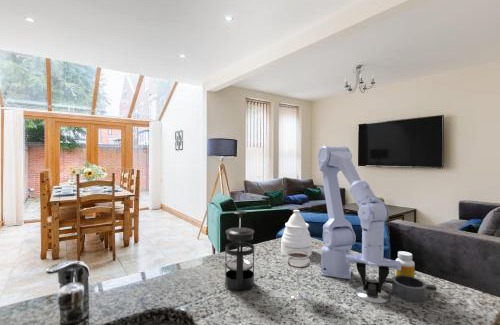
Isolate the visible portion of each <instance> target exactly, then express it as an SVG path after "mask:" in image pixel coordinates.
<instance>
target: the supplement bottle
mask: <svg viewBox="0 0 500 325" xmlns="http://www.w3.org/2000/svg"><path fill="white" fill-rule="evenodd" d="M395 261H400V262H401V270H397V269H394V276H395V275H405V276H411V277H415V269H416V268H415V266H416V265H415V261H413V254H412V253H411V252H408V251H401V250H399V251H397V258H396V259H395Z"/></svg>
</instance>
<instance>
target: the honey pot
mask: <svg viewBox="0 0 500 325" xmlns="http://www.w3.org/2000/svg"><path fill="white" fill-rule="evenodd" d="M292 212H293V213H292V215H290V217H289V219H288V221H287V222H285V224H284V225H285V228H284V230H283V234H282V236H281V239H280V240H281V245H280V252H281V254H283V255H285V256H286V257H288V255H287V252H288V251H291V250H302V251H306V252H308V253H309V254H310V256H312V254H313V240H312V238H311V235H310V234H311V233H310V231H309V227H310V224H309V223H307V222H306V221H305V219H304V217H303V215H302V214H301V213H300V210H299V209H293V211H292Z"/></svg>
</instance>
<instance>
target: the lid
mask: <svg viewBox="0 0 500 325" xmlns="http://www.w3.org/2000/svg"><path fill="white" fill-rule="evenodd" d="M354 292H355V296H356V297H358V298H359V299H360V300H362V301H365V302H368V303H371V304H385V303H387V302H389V301H390V296H389V294H388V293H387V292H386V291H384V290H383V289H381V293H378V280H375V279H366V291H365V290H363V285H362V286H359V287H357V288H355V290H354Z"/></svg>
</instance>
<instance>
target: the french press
mask: <svg viewBox="0 0 500 325" xmlns="http://www.w3.org/2000/svg"><path fill="white" fill-rule="evenodd" d="M233 214H235V215H238V218H239V221H238V222H239V223H238V224H239V225H238V227H230V228H228V229H226V230H225V234H226V239H227V240H229V241H231V242H230V243H228V244H226V245H225V246H224V247H225V255H224V256H225V257H224V258H225V260H224V261H225V263H224V264H225V272H224V273H225V275H224V276H225V277H224V278H225V280H224V287H225V288H226V290H228V291H231V292H236V293H237V292H238V293H245V292H247V291H250V290H252V289H253V288H254V287H255V245H254V244H252V243H249V241H251V240H253V238H254V234H255V230H254V229H252V228H249V227H241V222H242V221H241V218H243V217H242V215H246V214H247V211H244V210H236V211H233ZM233 247H234V248H235V247H236V250H232V249H230V248H233ZM244 247H246V248H250V249H248V250H243V248H244ZM227 254H228V255H231V256H236V259H232V260H229V261H228V262H227ZM249 255H252V261H251V260H248V259H244V256H249ZM227 269H228V270H227Z"/></svg>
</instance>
